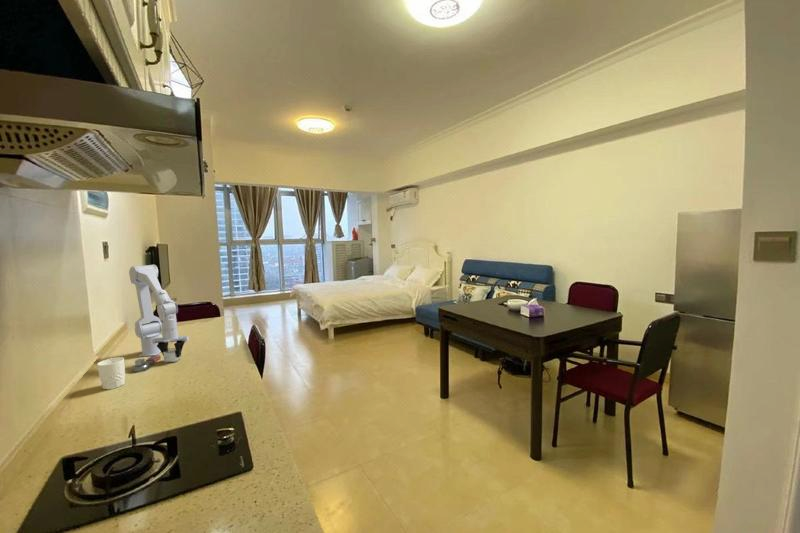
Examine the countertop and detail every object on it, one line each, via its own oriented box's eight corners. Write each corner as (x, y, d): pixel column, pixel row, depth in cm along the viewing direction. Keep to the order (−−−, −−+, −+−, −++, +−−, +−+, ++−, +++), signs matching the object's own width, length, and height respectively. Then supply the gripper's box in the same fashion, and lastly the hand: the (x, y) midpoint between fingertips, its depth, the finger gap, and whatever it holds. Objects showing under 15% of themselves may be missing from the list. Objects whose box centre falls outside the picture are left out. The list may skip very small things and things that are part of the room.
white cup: (132, 381, 131) (129, 357, 130) (113, 390, 123) (110, 365, 122) (114, 380, 132) (111, 357, 131) (94, 390, 124) (91, 365, 123)
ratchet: (149, 359, 154) (148, 350, 153) (163, 358, 155) (162, 349, 154) (128, 373, 139) (127, 363, 139) (144, 372, 140) (142, 361, 139)
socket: (170, 358, 154) (169, 348, 153) (181, 357, 154) (180, 347, 154) (164, 362, 149) (163, 351, 148) (175, 361, 150) (174, 351, 149)
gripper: (147, 332, 145) (150, 361, 146) (182, 330, 147) (185, 359, 149) (156, 327, 152) (159, 355, 153) (189, 325, 154) (192, 353, 156)
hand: (172, 357), depth 151 cm, fingers closed on socket, 5 cm apart
